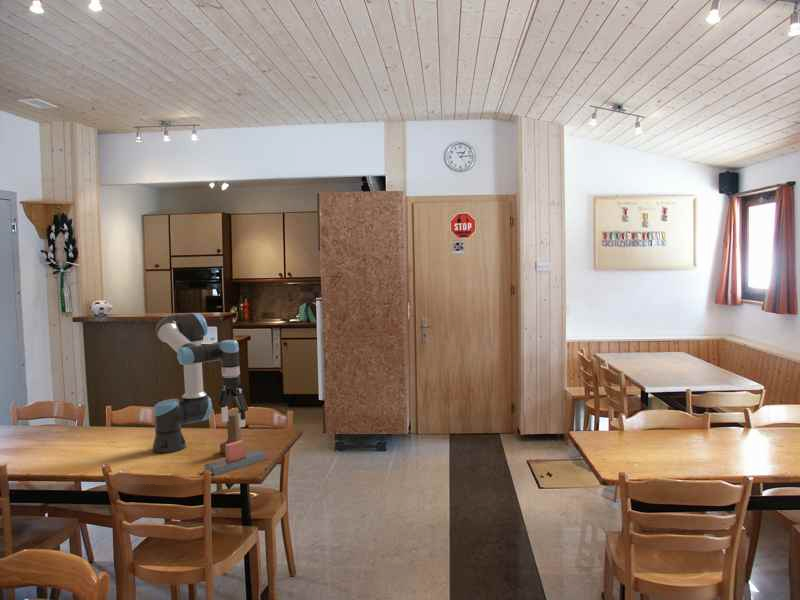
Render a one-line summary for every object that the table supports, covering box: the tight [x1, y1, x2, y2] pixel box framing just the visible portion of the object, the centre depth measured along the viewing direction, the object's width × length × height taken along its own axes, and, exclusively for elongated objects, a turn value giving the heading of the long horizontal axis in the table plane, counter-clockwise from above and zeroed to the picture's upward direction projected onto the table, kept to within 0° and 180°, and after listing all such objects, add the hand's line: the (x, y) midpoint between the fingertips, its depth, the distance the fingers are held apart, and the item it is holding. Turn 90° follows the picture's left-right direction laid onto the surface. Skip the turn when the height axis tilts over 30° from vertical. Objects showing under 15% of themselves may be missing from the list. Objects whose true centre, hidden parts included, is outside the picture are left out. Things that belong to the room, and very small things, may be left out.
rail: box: [203, 449, 268, 476], centre depth 269 cm, size 8×26×3 cm, turn 137°
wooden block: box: [219, 413, 242, 454], centre depth 289 cm, size 9×4×18 cm, turn 74°
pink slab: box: [224, 439, 247, 462], centre depth 269 cm, size 3×8×10 cm, turn 137°
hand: (233, 424), depth 269 cm, fingers open, 13 cm apart
